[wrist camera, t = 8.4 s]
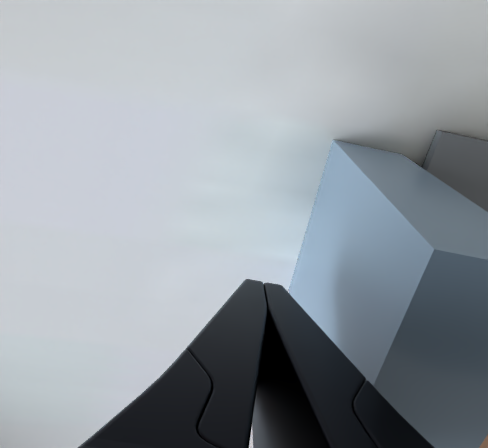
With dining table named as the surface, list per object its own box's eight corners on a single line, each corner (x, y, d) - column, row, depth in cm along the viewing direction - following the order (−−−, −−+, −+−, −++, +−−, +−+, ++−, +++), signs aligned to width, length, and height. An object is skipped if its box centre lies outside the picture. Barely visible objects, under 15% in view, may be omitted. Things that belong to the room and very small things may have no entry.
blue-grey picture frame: (351, 301, 16) (438, 522, 8) (288, 289, 15) (320, 504, 8) (406, 155, 13) (596, 280, 6) (332, 139, 13) (434, 249, 6)
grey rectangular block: (421, 515, 21) (424, 523, 20) (292, 495, 20) (293, 503, 20) (634, 172, 13) (645, 176, 13) (436, 130, 13) (442, 132, 12)
